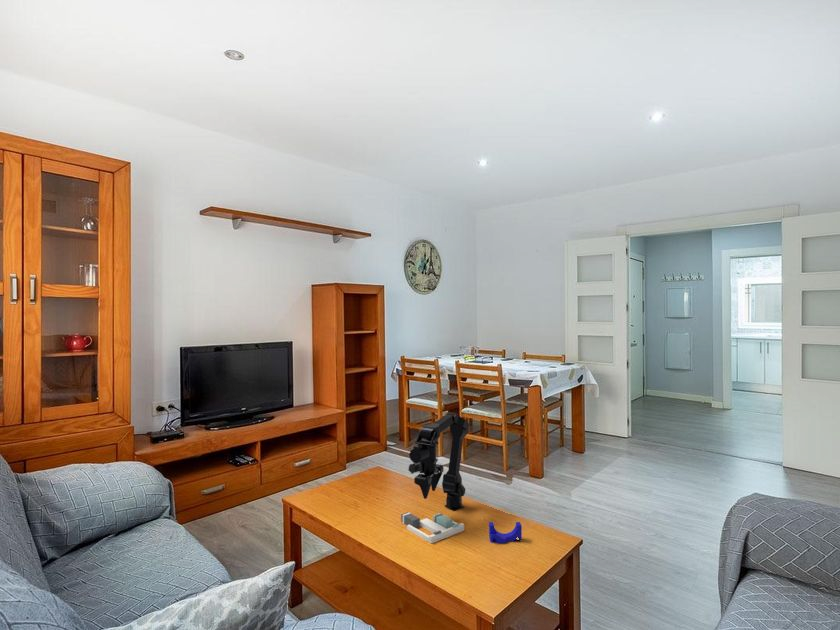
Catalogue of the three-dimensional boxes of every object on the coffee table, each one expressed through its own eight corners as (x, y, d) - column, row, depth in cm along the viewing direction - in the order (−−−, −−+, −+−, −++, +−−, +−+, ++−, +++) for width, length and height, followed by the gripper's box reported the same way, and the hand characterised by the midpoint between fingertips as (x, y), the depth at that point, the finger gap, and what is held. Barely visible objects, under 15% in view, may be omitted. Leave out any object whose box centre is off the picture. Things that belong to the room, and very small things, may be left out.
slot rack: (439, 517, 201) (439, 510, 201) (464, 530, 189) (464, 522, 189) (406, 529, 191) (406, 521, 191) (431, 543, 179) (431, 535, 179)
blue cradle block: (490, 543, 179) (490, 527, 179) (489, 537, 184) (489, 522, 184) (522, 543, 179) (522, 527, 179) (520, 537, 184) (519, 522, 184)
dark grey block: (408, 520, 199) (408, 511, 199) (419, 526, 193) (419, 518, 193) (401, 522, 197) (401, 514, 197) (412, 529, 191) (412, 520, 191)
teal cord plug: (439, 521, 198) (439, 512, 198) (452, 528, 192) (452, 519, 192) (433, 523, 196) (433, 515, 196) (445, 530, 189) (445, 521, 189)
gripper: (420, 449, 207) (420, 484, 207) (402, 461, 190) (402, 499, 190) (443, 451, 203) (444, 488, 203) (427, 464, 186) (428, 504, 186)
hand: (429, 494), depth 196 cm, fingers open, 9 cm apart
